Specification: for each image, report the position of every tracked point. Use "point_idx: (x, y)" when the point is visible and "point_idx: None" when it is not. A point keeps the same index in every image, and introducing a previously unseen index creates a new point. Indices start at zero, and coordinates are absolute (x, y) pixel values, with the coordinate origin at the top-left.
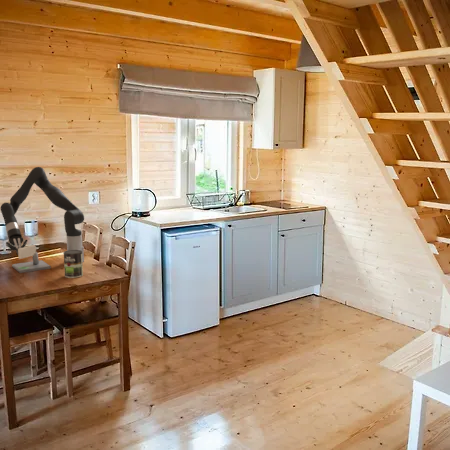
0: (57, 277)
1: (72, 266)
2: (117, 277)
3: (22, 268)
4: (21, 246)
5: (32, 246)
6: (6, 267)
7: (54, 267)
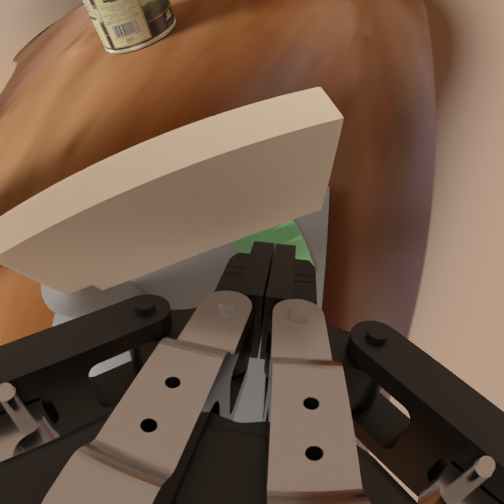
0: (199, 31)
1: None
2: None
3: (291, 220)
4: (173, 335)
5: (45, 197)
6: None
7: None
